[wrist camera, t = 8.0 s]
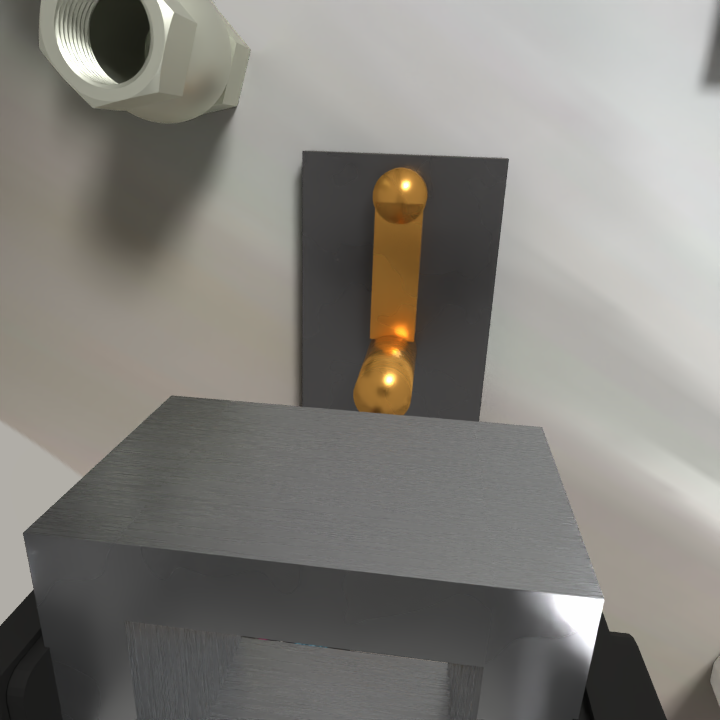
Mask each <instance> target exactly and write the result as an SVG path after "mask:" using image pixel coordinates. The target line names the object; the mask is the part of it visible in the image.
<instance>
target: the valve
mask: <svg viewBox="0 0 720 720" xmlns="http://www.w3.org/2000/svg"><path fill="white" fill-rule="evenodd" d="M39 49H40V50H41V52H42V53H43V54H44V56H45V57H46V58H47V59H48V61H49V62H50V63H51V64H52V66H53V67H54V68H55V69H56V70H57V71H58V73H59V74H60V75H61V76H62V77H63V78H64V80H65V81H66V82H67V83H68V84H69V85H70V86H71V87H72V88H73V89H74V90H75V91H76V92H77V93H78V94H79V95H80V96H81V97H82V98H83V99H84V100H85V101H86V102H87V103H88V104H89V105H90V106H91V107H92V108H96V109H106V110H116V111H124V110H126V111H127V112H129V113H131V114H133V115H135V116H137V117H139V118H142V119H144V120H148V121H151V122H156V123H167V124H172V123H181V122H185V121H188V120H191V119H194V118H196V117H198V116H200V115H202V114H207V113H211V112H215V111H220V110H224V109H228V108H232V107H236V106H237V105H238V102H239V98H240V93H241V89H242V85H243V81H244V77H245V72H246V68H247V64H248V60H249V56H250V48H249V47H248V46H247V44H246V43H245V42H244V41H243V40H242V38H241V37H240V36H239V35H238V34H237V32H236V31H235V30H234V29H233V27H232V26H231V25H230V24H229V23H228V21H227V20H226V19H225V18H224V17H223V15H222V14H221V13H220V12H219V11H218V9H217V8H216V6H215V5H214V3H213V2H212V1H211V0H41V5H40V17H39Z"/></svg>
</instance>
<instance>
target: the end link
mask: <svg viewBox="0 0 720 720" xmlns="http://www.w3.org/2000/svg"><path fill="white" fill-rule="evenodd" d="M23 536H24V541H25V546H26V551H27V557H28V561H29V567H30V572H31V577H32V583H33V588H34V593H35V599H36V604H37V609H38V614H39V619H40V625H41V630H42V635H43V640H44V646H45V647H49V648H50V654H51V659H52V664H53V670H54V675H55V680H56V686H57V691H58V696H59V702H60V707H61V713H62V718H63V720H572V719H578V718H579V713H580V709H581V704H582V700H583V695H584V691H585V686H586V681H587V677H588V672H589V668H590V663H591V659H592V654H593V649H594V645H595V640H596V636H597V631H598V626H599V622H600V617H601V613H602V608H603V604H604V597H603V594H602V591H601V589H600V586H599V583H598V580H597V578H596V575H595V572H594V569H593V567H592V564H591V561H590V558H589V556H588V553H587V550H586V547H585V544H584V542H583V539H582V536H581V533H580V531H579V528H578V525H577V522H576V520H575V517H574V514H573V511H572V509H571V506H570V503H569V500H568V497H567V495H566V492H565V489H564V486H563V484H562V481H561V478H560V475H559V473H558V470H557V467H556V464H555V462H554V459H553V456H552V453H551V450H550V448H549V445H548V442H547V439H546V437H545V434H544V431H543V428H542V427H534V426H523V425H511V424H499V423H487V422H476V421H464V420H452V419H440V418H429V417H417V416H405V415H394V414H382V413H370V412H358V411H347V410H335V409H323V408H311V407H300V406H288V405H276V404H265V403H253V402H241V401H229V400H218V399H206V398H194V397H182V396H170V397H169V398H168V399H167V400H166V401H165V402H164V403H163V404H162V405H161V406H160V407H159V408H157V409H156V410H155V411H154V412H153V413H152V414H151V415H150V416H149V417H148V418H147V419H146V420H145V421H143V422H142V423H141V424H140V425H139V426H138V427H137V428H136V429H135V430H134V431H133V432H132V433H130V434H129V435H128V436H127V437H126V438H125V439H124V440H123V441H122V442H121V443H120V444H119V445H117V446H116V447H115V448H114V449H113V450H112V451H111V452H110V453H109V454H108V455H107V456H106V457H105V458H103V459H102V460H101V461H100V462H99V463H98V464H97V465H96V466H95V467H94V468H93V469H92V470H90V471H89V472H88V473H87V474H86V475H85V476H84V477H83V478H82V479H81V480H80V481H79V482H77V484H75V485H74V486H73V487H72V488H71V489H70V490H69V491H68V492H67V493H66V494H64V495H63V496H62V497H61V498H60V499H59V500H58V501H57V502H56V503H55V504H54V505H53V506H52V507H50V508H49V509H48V510H47V511H46V512H45V513H44V514H43V515H42V516H41V517H40V518H39V519H37V521H35V522H34V523H33V524H32V525H31V526H30V527H29V528H28V529H27V530H26V531H25V532H24V533H23ZM242 636H246V637H242ZM247 637H254V638H261V639H254V638H247ZM262 639H269V640H262ZM270 640H277V641H285V642H292V643H285V642H277V641H270ZM293 643H300V644H293ZM301 644H308V645H316V646H323V647H316V646H308V645H301ZM324 647H331V648H324ZM332 648H339V649H347V650H354V651H347V650H339V649H332ZM355 651H362V652H355ZM363 652H370V653H378V654H385V655H378V654H370V653H363ZM386 655H393V656H386ZM394 656H401V657H409V658H416V659H409V658H401V657H394ZM417 659H424V660H432V661H440V662H447V663H440V662H432V661H424V660H417Z"/></svg>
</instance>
